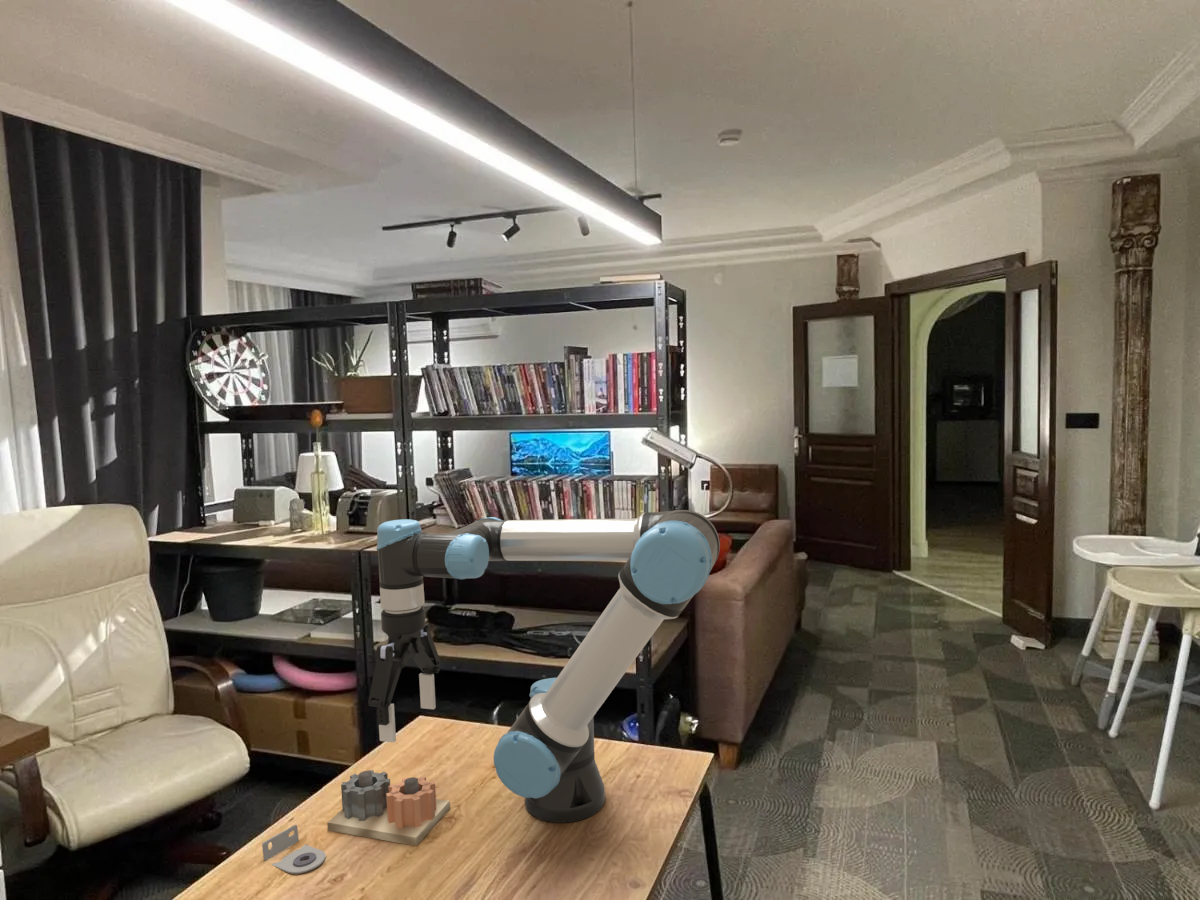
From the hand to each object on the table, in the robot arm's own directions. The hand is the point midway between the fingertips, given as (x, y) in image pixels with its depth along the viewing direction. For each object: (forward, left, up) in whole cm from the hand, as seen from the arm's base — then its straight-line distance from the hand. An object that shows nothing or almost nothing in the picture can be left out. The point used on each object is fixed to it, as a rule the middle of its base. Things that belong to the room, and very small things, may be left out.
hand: (409, 723), depth 138 cm
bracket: (+14, +14, -19) cm, 28 cm away
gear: (0, 0, -17) cm, 17 cm away
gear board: (+5, 0, -19) cm, 19 cm away
